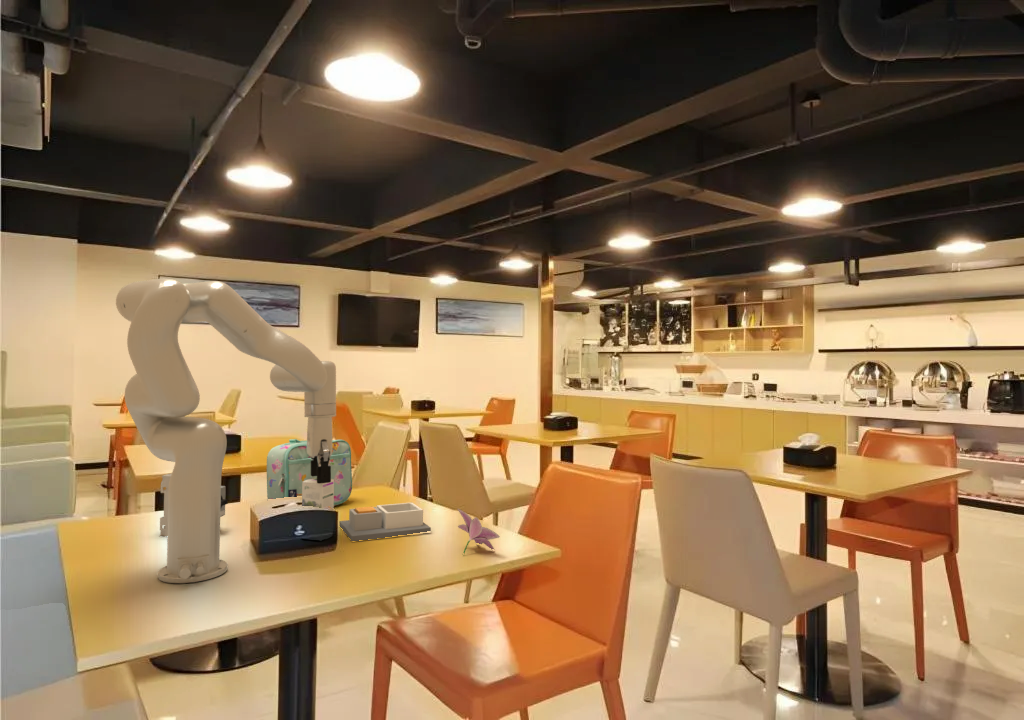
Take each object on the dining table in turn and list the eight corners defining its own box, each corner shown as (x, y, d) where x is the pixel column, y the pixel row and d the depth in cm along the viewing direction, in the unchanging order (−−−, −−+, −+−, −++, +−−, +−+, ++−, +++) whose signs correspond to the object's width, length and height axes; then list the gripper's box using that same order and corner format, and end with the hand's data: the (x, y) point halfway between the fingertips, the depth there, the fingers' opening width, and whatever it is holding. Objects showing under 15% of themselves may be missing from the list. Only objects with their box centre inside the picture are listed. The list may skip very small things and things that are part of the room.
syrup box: (334, 536, 155) (335, 478, 155) (320, 542, 149) (321, 482, 149) (314, 534, 156) (315, 476, 156) (300, 540, 150) (301, 480, 151)
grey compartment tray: (430, 533, 158) (431, 512, 158) (352, 542, 149) (352, 519, 149) (412, 519, 173) (412, 499, 173) (339, 526, 164) (339, 506, 164)
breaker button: (375, 525, 158) (376, 510, 158) (358, 527, 156) (358, 511, 156) (371, 521, 162) (371, 506, 162) (354, 523, 160) (355, 507, 160)
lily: (500, 565, 137) (512, 523, 141) (452, 547, 134) (465, 505, 138) (481, 566, 147) (493, 527, 151) (436, 550, 144) (449, 511, 148)
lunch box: (285, 521, 169) (286, 443, 170) (260, 516, 174) (262, 440, 175) (355, 503, 192) (356, 434, 193) (331, 499, 198) (332, 432, 198)
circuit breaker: (216, 537, 152) (217, 476, 152) (159, 536, 152) (160, 475, 152) (231, 529, 159) (232, 471, 160) (176, 528, 160) (177, 470, 160)
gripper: (299, 408, 159) (300, 474, 159) (309, 414, 144) (310, 487, 144) (329, 407, 163) (329, 472, 163) (342, 412, 147) (342, 484, 147)
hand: (320, 479), depth 153 cm, fingers open, 9 cm apart
